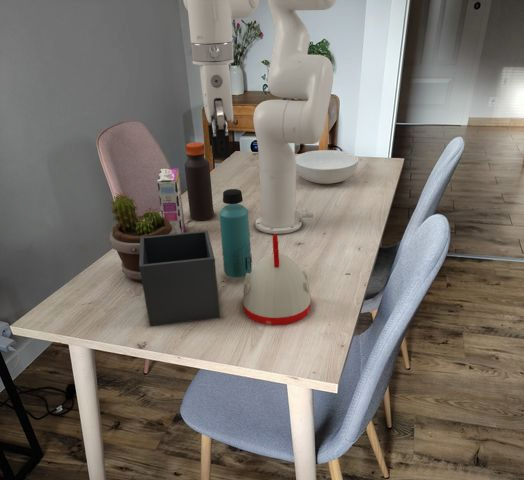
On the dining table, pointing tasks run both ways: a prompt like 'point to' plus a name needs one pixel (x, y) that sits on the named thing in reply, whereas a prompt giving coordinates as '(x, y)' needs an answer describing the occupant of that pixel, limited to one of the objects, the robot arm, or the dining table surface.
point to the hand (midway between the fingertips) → (219, 151)
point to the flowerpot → (134, 232)
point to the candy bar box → (171, 197)
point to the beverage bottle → (235, 235)
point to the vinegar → (198, 183)
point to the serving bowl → (326, 166)
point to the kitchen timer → (276, 290)
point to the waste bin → (179, 277)
